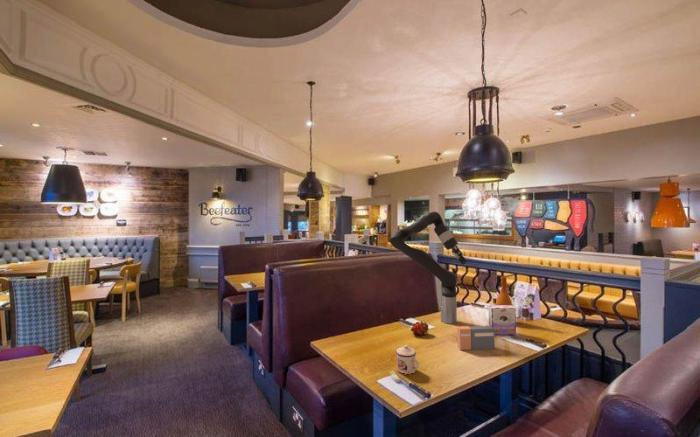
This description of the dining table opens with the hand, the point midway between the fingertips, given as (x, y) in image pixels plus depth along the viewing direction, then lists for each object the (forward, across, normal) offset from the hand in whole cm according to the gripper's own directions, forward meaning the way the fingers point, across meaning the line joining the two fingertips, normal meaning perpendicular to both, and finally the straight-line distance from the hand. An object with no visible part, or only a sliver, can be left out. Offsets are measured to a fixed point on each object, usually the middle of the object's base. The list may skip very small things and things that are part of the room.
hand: (464, 263), depth 186 cm
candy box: (+44, -23, -3) cm, 50 cm away
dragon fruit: (+21, -12, -45) cm, 51 cm away
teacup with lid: (+30, +32, -54) cm, 70 cm away
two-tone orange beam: (+37, +2, -27) cm, 46 cm away
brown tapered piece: (+42, -43, +4) cm, 60 cm away
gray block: (+42, 0, -19) cm, 46 cm away
